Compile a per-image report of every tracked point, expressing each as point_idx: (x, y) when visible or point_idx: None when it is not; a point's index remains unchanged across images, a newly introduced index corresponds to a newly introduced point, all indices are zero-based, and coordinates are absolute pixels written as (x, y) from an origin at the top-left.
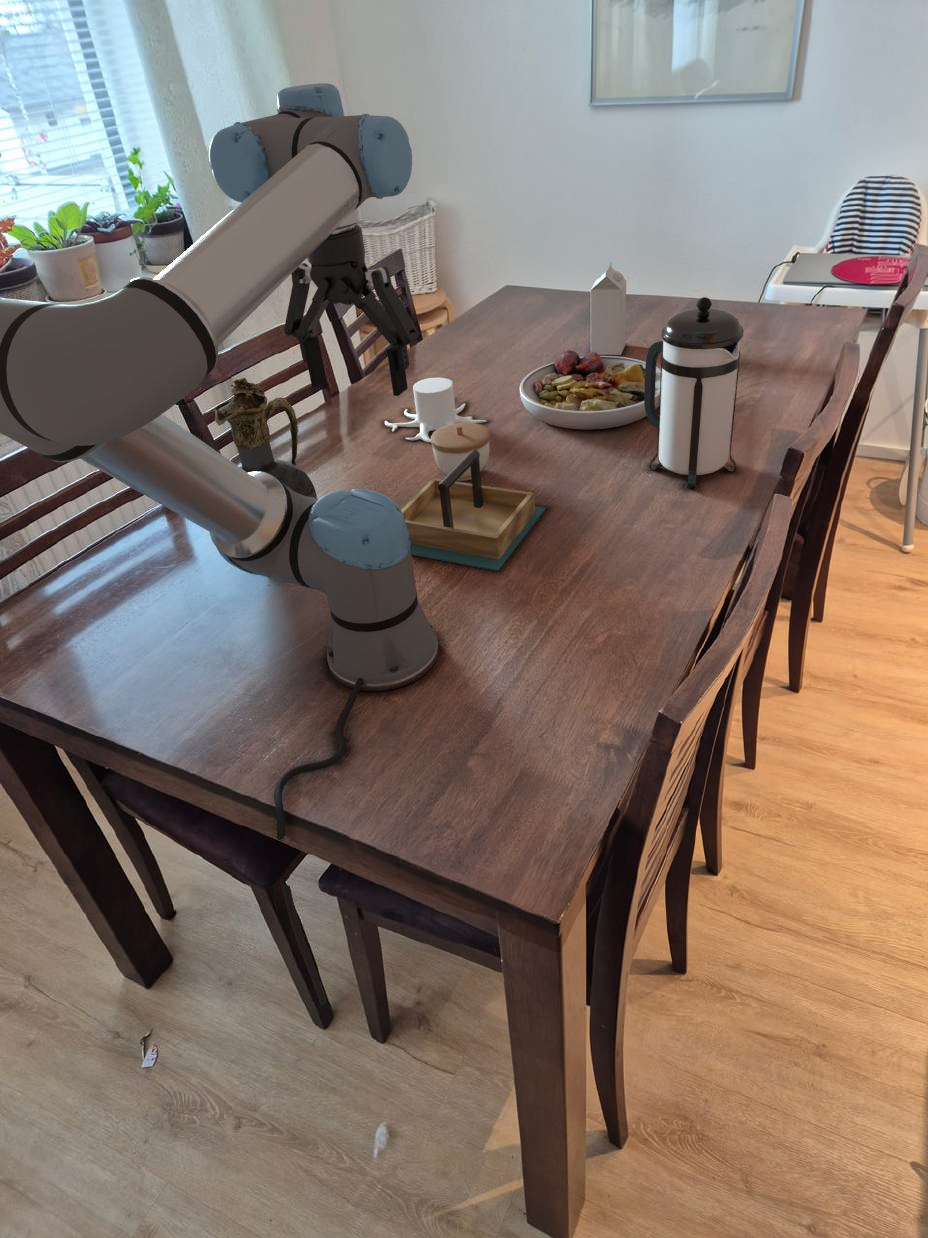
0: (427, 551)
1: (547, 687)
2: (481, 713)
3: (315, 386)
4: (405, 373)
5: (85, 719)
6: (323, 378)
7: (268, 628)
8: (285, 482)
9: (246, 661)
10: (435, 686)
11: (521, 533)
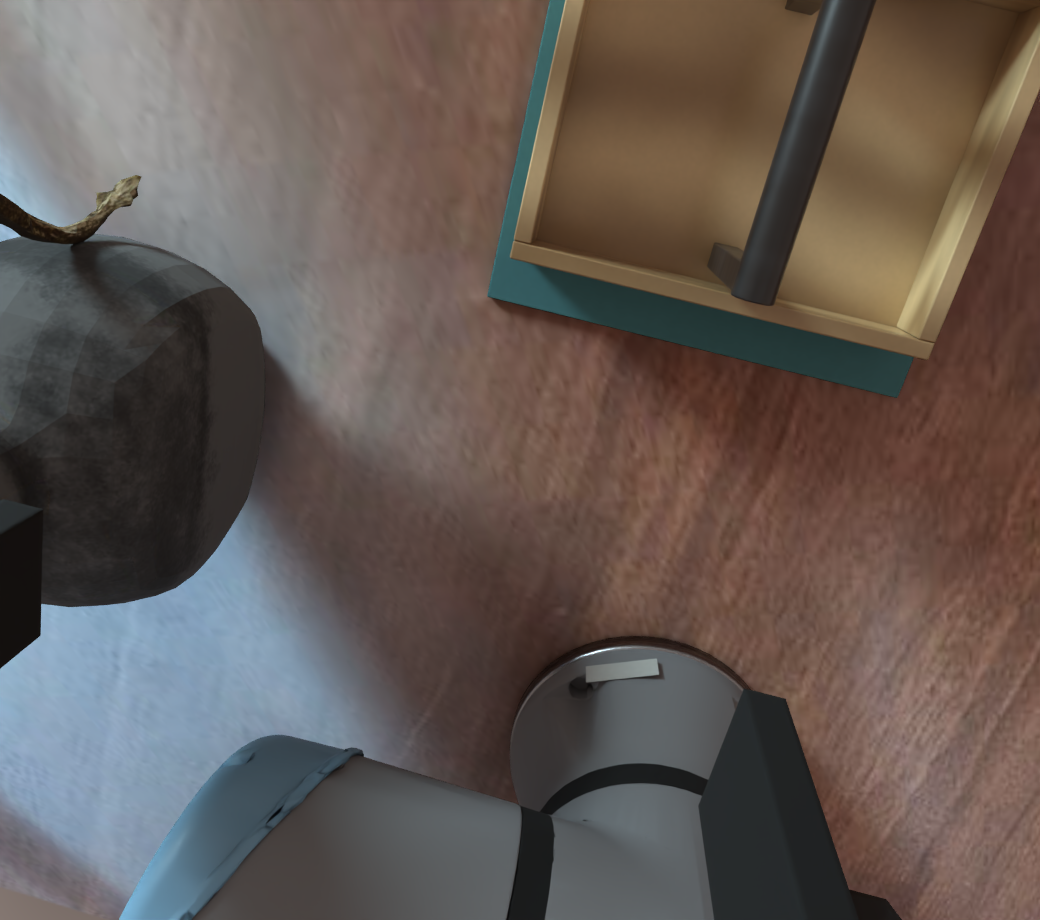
0: (648, 308)
1: (1033, 821)
2: (888, 887)
3: (31, 638)
4: (813, 791)
5: (116, 911)
6: (23, 551)
7: (322, 665)
8: (134, 514)
9: None
10: None
11: None
